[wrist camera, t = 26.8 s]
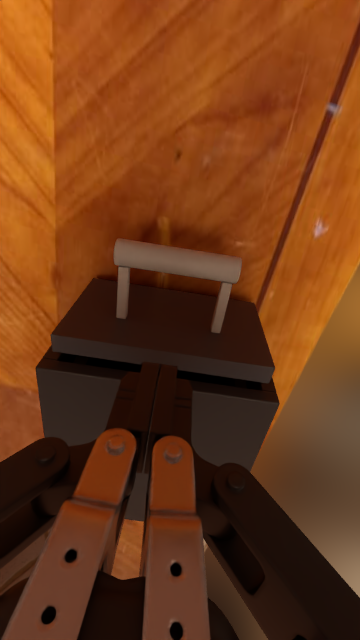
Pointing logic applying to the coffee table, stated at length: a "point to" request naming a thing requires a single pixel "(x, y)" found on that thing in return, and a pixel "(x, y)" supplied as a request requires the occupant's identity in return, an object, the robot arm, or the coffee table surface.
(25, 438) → the coffee table surface
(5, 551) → the robot arm
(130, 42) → the coffee table surface
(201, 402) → the single drawer box
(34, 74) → the coffee table surface
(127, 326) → the pull-out drawer
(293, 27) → the coffee table surface
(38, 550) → the planter
